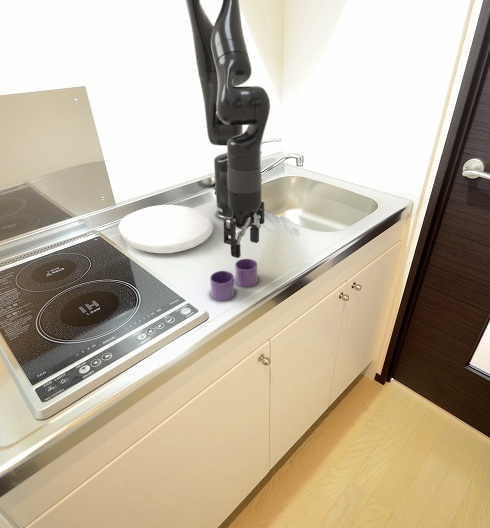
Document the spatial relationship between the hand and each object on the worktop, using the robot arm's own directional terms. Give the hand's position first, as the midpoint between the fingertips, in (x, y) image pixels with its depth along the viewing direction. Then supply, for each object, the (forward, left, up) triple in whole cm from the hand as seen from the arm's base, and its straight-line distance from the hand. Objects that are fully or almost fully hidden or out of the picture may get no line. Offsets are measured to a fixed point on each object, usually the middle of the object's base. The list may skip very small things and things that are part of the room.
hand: (245, 249), depth 90 cm
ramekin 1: (+8, -1, -10) cm, 12 cm away
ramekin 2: (0, 0, -10) cm, 10 cm away
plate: (-4, -35, -10) cm, 37 cm away
